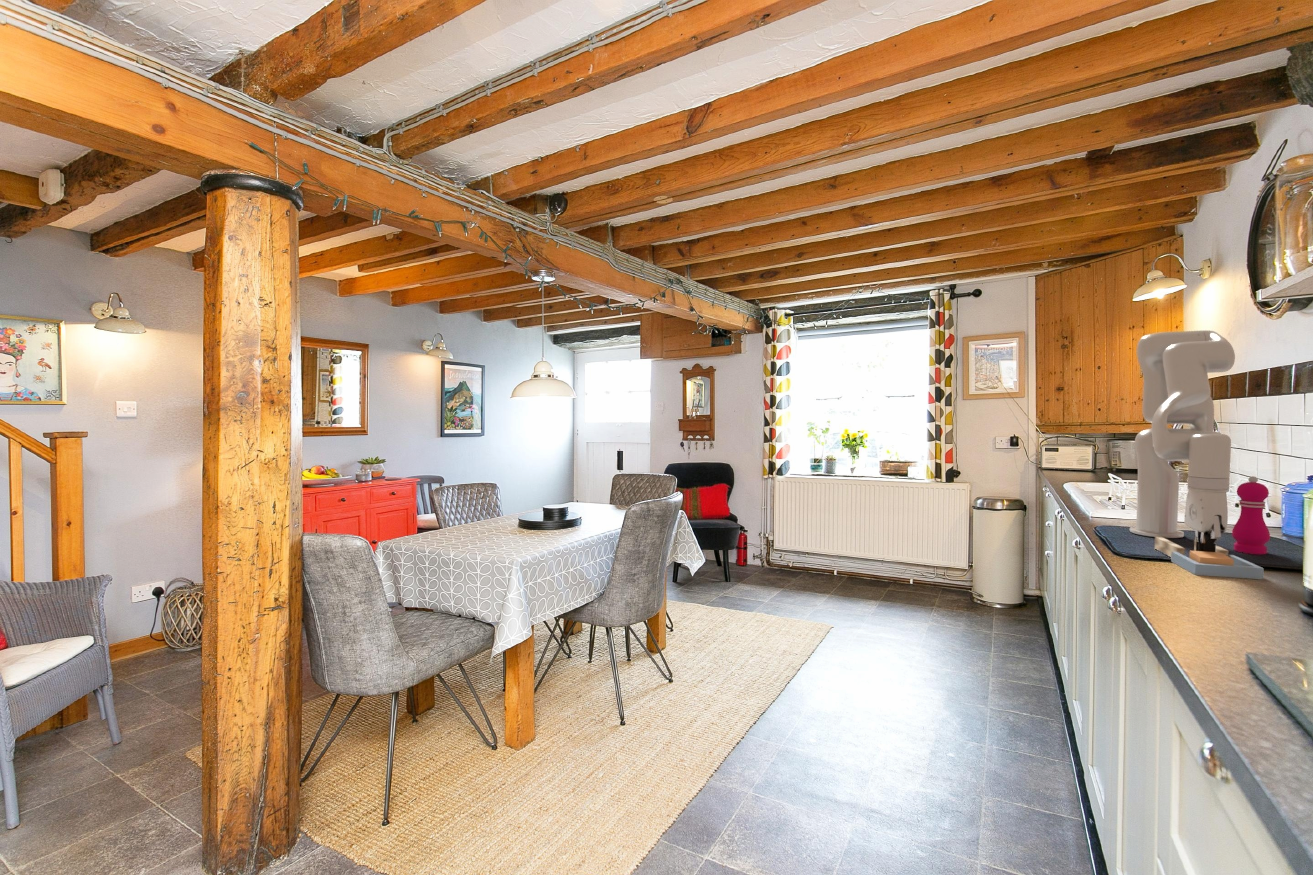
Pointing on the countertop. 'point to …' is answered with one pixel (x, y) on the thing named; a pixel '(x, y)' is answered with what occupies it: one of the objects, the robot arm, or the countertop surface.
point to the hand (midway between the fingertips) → (1205, 558)
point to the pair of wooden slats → (1178, 547)
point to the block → (1210, 558)
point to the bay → (1219, 567)
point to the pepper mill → (1251, 519)
